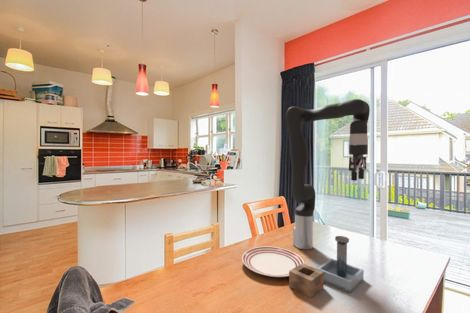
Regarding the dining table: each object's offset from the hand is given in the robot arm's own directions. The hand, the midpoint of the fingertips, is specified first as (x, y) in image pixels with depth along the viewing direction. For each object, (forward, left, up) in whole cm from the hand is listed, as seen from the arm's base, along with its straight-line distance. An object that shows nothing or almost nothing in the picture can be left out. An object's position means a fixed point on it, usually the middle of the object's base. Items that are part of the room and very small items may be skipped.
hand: (357, 179), depth 106 cm
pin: (+1, -18, -37) cm, 41 cm away
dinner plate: (-24, -31, -39) cm, 55 cm away
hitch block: (-5, -35, -38) cm, 52 cm away
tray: (+1, -20, -38) cm, 43 cm away
